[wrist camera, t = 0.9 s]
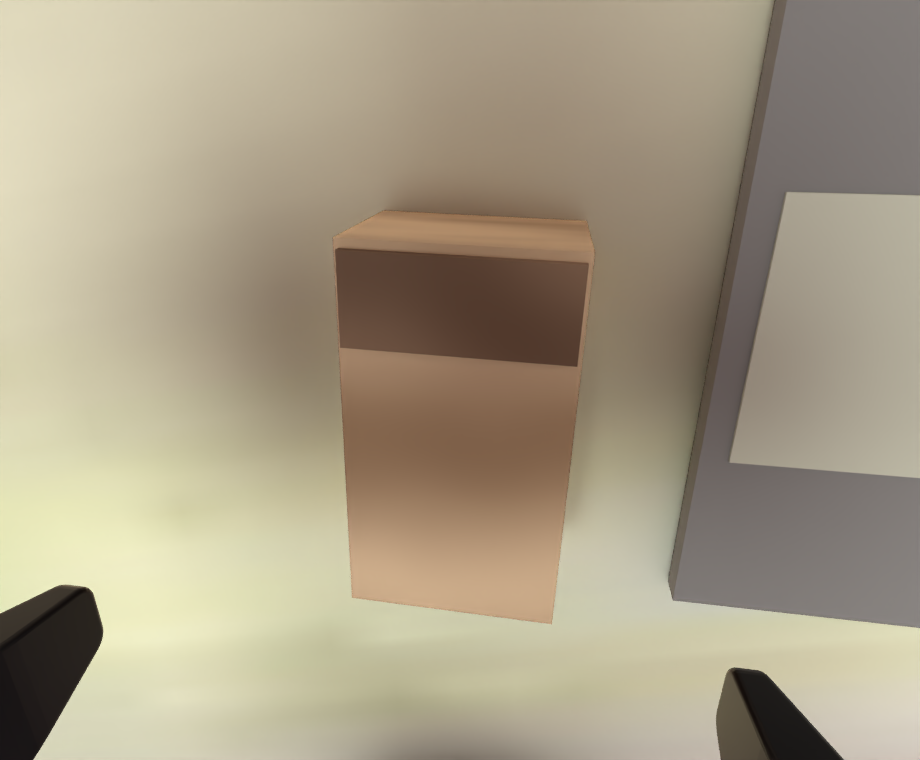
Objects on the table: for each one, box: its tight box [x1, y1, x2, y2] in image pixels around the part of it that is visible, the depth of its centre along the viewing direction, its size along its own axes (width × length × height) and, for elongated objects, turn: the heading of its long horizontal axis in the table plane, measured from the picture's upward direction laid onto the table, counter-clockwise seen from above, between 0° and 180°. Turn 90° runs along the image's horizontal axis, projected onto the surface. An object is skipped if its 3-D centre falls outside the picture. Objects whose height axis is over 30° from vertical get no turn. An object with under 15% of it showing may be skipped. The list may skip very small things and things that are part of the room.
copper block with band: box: [333, 210, 595, 624], centre depth 15 cm, size 9×5×4 cm, turn 178°
